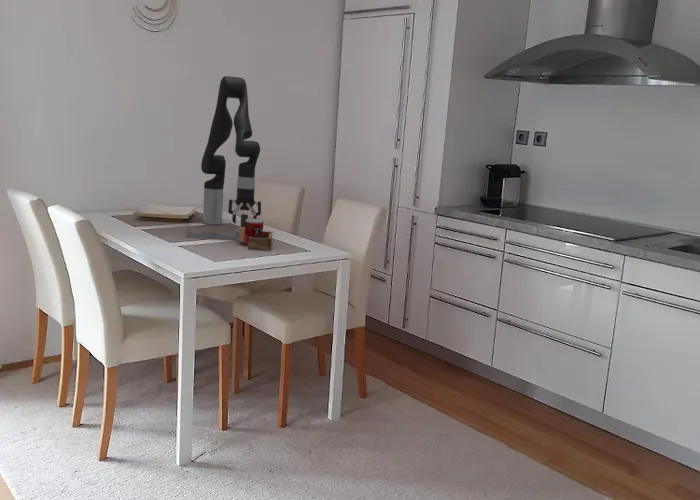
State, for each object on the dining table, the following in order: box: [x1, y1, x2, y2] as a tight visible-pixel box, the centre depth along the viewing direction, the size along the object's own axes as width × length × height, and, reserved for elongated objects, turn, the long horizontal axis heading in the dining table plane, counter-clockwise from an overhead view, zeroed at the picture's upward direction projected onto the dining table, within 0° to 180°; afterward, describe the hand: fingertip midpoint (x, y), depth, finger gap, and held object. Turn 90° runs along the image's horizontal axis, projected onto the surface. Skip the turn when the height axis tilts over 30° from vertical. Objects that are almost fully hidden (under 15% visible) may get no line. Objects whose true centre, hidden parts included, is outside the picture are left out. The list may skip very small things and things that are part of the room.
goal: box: [247, 230, 273, 252], centre depth 284 cm, size 15×9×5 cm, turn 4°
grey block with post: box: [235, 213, 249, 243], centre depth 289 cm, size 13×6×11 cm, turn 4°
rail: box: [185, 227, 239, 242], centre depth 292 cm, size 3×30×4 cm, turn 94°
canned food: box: [243, 218, 264, 247], centre depth 284 cm, size 8×8×11 cm
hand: (244, 223), depth 292 cm, fingers open, 8 cm apart
